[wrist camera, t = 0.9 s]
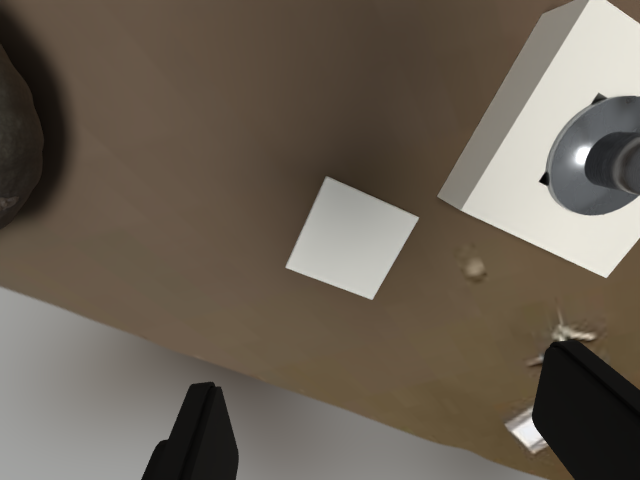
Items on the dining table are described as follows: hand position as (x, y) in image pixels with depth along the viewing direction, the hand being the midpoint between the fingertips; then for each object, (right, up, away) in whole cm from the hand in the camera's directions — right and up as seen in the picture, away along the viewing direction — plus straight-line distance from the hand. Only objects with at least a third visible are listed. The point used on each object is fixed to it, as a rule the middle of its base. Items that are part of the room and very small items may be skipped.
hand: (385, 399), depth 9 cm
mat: (+2, +4, +30) cm, 30 cm away
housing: (+25, +15, +27) cm, 40 cm away
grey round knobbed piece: (+25, +15, +27) cm, 40 cm away
